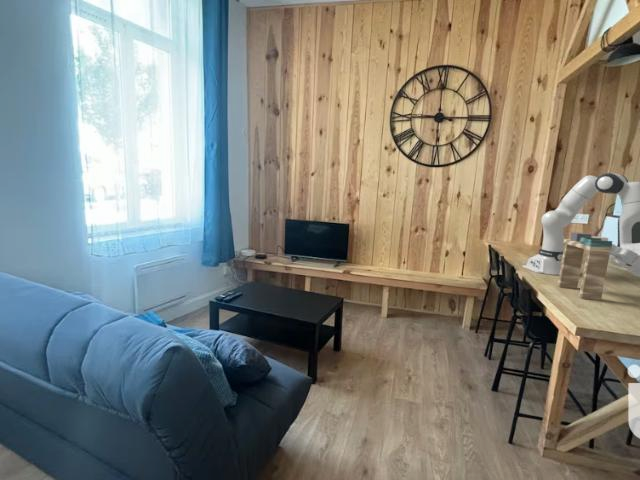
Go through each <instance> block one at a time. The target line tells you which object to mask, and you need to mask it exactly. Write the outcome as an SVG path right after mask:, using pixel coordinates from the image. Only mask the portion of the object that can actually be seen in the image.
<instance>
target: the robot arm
mask: <svg viewBox="0 0 640 480" xmlns="http://www.w3.org/2000/svg"><path fill="white" fill-rule="evenodd" d="M599 192H600V193H601V194H607V195H611V194H615V195H617V196H618V198H619V199H620V202H621V213H620V215H619V217H618V219H617V245H616V244H613V243H612V252H610V255H609V256H612V257H613V261H614V262H615V263H616V264H617V265H619V266H620V267H622V268H624V269H627V271H629V272H630V273H631V274H632V275H634V276H636V277H638V278H640V242H638V243H637V242H635V243H633V242H632V239H633V238H632V236H633V235H632V229H633V227H634V225H635V224H637V222H640V181H629V180H628V179H627V177H626V176H624V175H622V174H619V173H615V172H614V173H610V172H608V173H603V174H601V175H599V176H598V177H597V176H595V175H590V174H589V175H586V176H583V177H582V178H581V179H580V180H579V181H578V182H577V183H575V185H574V186H572V188H571V189H570V190H569V191H568V192H567V194H565V195H564V197H563V198H562V199H561V201H560V203H559V205H558V206H557V208H556V209H555V210H548V211H547V212H546V213H544V214H543V215H542V216H541V224H542V231H543V234H542V235H543V237H542V245H541V248H539V249H538V248H537V252H538V253H537V254H535V255H534V256H531V257H529V258H528V260H527V263H526V264H523V265H522V268H525V269H527V270H529V271H532V272H535V273H537V274H545V275H546V274H547V275H554V276H555V275H556V276H559V275H560V269H561V263H562V256H563V250H564V244H565V243H564V239H566V238H565V235H564V228H566V227H567V226H569V225H570V224H571V223H572V221H573V220H574V218H576V216H577V215H578V213H579V212H580V211H581V209H583V207H584V206H585V205H586V204H587V203H588V202H589V201H590V200H591V199H592V198H593V196H595V194H597V193H599Z"/></svg>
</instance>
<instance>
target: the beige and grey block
mask: <svg viewBox="0 0 640 480" xmlns="http://www.w3.org/2000/svg"><path fill="white" fill-rule="evenodd" d="M580 237H583V238H601V241H609V237H606V236H594V235H593V234H592V233H587V232H576V231H575V232H574V231H573V232H570V237H569V239H570V240H572V241H576V242H580Z"/></svg>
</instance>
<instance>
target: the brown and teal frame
mask: <svg viewBox="0 0 640 480" xmlns="http://www.w3.org/2000/svg"><path fill="white" fill-rule="evenodd" d="M612 244H613V241H612V240H608V241H601V238H583V237H580V242H576V241H572V240H570V238H567V239H566V238H565V239H564V246H563V256H562V261H561V269H560V275H558V282H557V287H558V288H561V289H562V288H563V289H576V290H577V289H578V286H579V280H580V275H581V269H582V264H583V258H584V252H585V250H586V256H585V262H584V269H583V273H582V278H581V279H582V280H581V284H580V289H579V294H578V299H581V300H593V301H602V297H603V291H604V287H605V280H606V276H607V270H608V265H609V260H610V256H611V255H610V252H612Z"/></svg>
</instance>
